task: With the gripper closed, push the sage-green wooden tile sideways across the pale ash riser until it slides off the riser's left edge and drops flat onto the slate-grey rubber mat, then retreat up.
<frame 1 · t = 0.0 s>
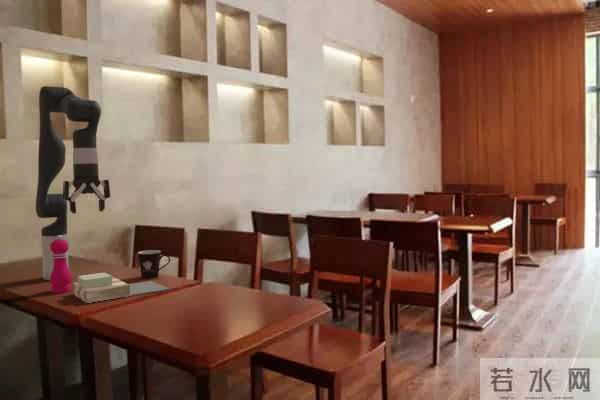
hand: (87, 212, 176), 29 cm above the table, fingers open, 8 cm apart
ash riser: (101, 295, 185), on the table
green tile: (95, 284, 183), point 4 cm above the table, touching ash riser
pepper mill: (61, 291, 192), on the table
slate mat: (141, 289, 193), on the table
coffee mug: (153, 277, 213), on the table
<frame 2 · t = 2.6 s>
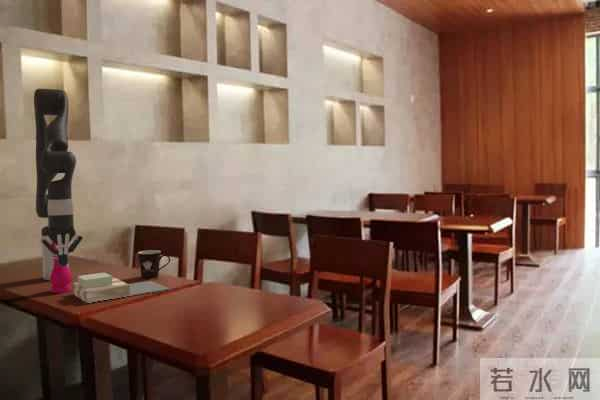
hand: (63, 265, 177), 12 cm above the table, fingers closed
nothing on the table moved.
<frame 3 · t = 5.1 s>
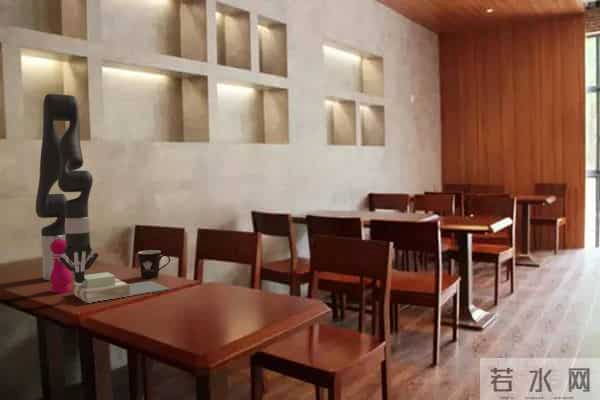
hand: (79, 282, 180), 6 cm above the table, fingers closed
green tile: (98, 284, 184), point 4 cm above the table, touching ash riser, gripper
everything else where it was.
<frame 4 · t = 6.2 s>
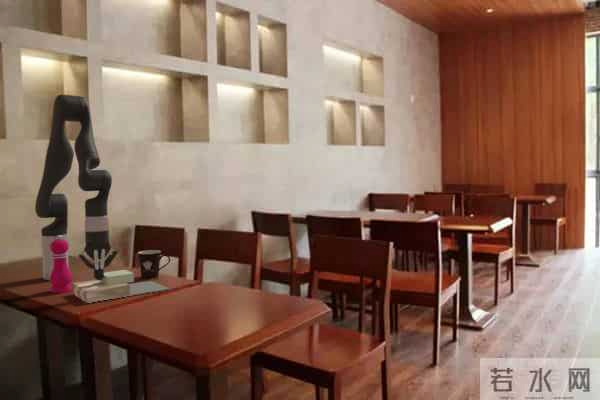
hand: (98, 279, 184), 6 cm above the table, fingers closed
green tile: (116, 281, 188), point 4 cm above the table, touching gripper
everything else where it was.
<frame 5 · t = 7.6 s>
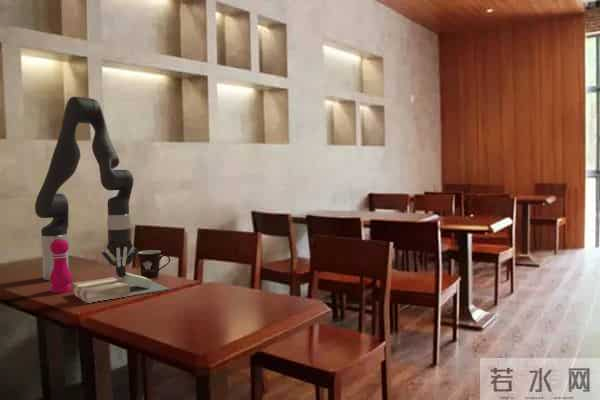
hand: (120, 276, 188), 6 cm above the table, fingers closed
green tile: (134, 284, 192), point 2 cm above the table, tilted 21°, touching slate mat
everything else where it was.
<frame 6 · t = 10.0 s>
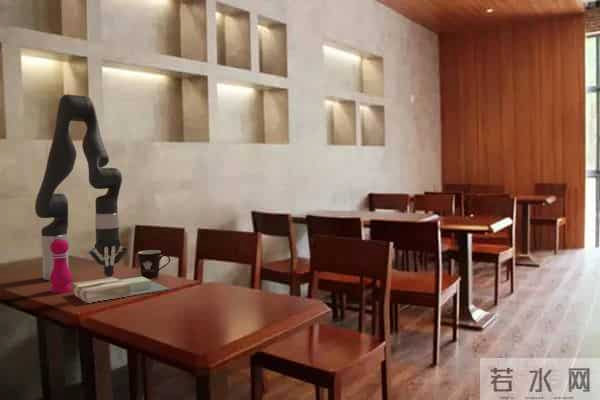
hand: (108, 276, 186), 6 cm above the table, fingers closed
green tile: (134, 288, 192), point 1 cm above the table, touching slate mat
everything else where it was.
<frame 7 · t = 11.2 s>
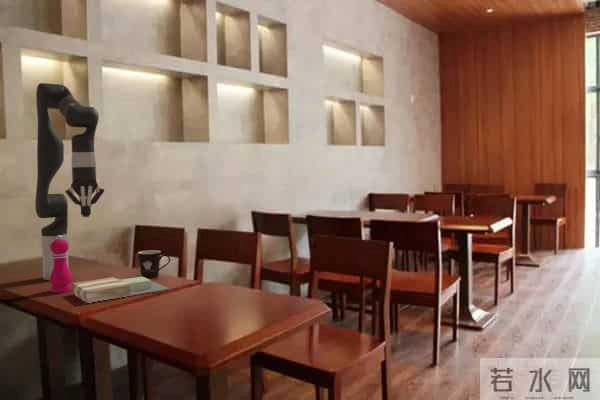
hand: (85, 216, 184), 27 cm above the table, fingers closed
nothing on the table moved.
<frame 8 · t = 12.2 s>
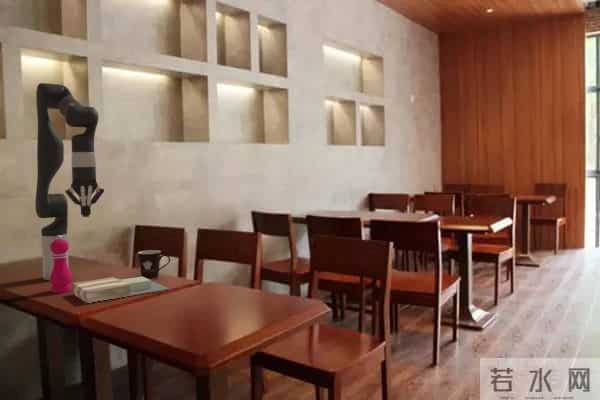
hand: (85, 216, 184), 27 cm above the table, fingers closed
nothing on the table moved.
at the end: green tile inside the target area on the slate mat (2.4 cm from its centre), point 0.6 cm above the slate mat's base; green tile tilted 0° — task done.
